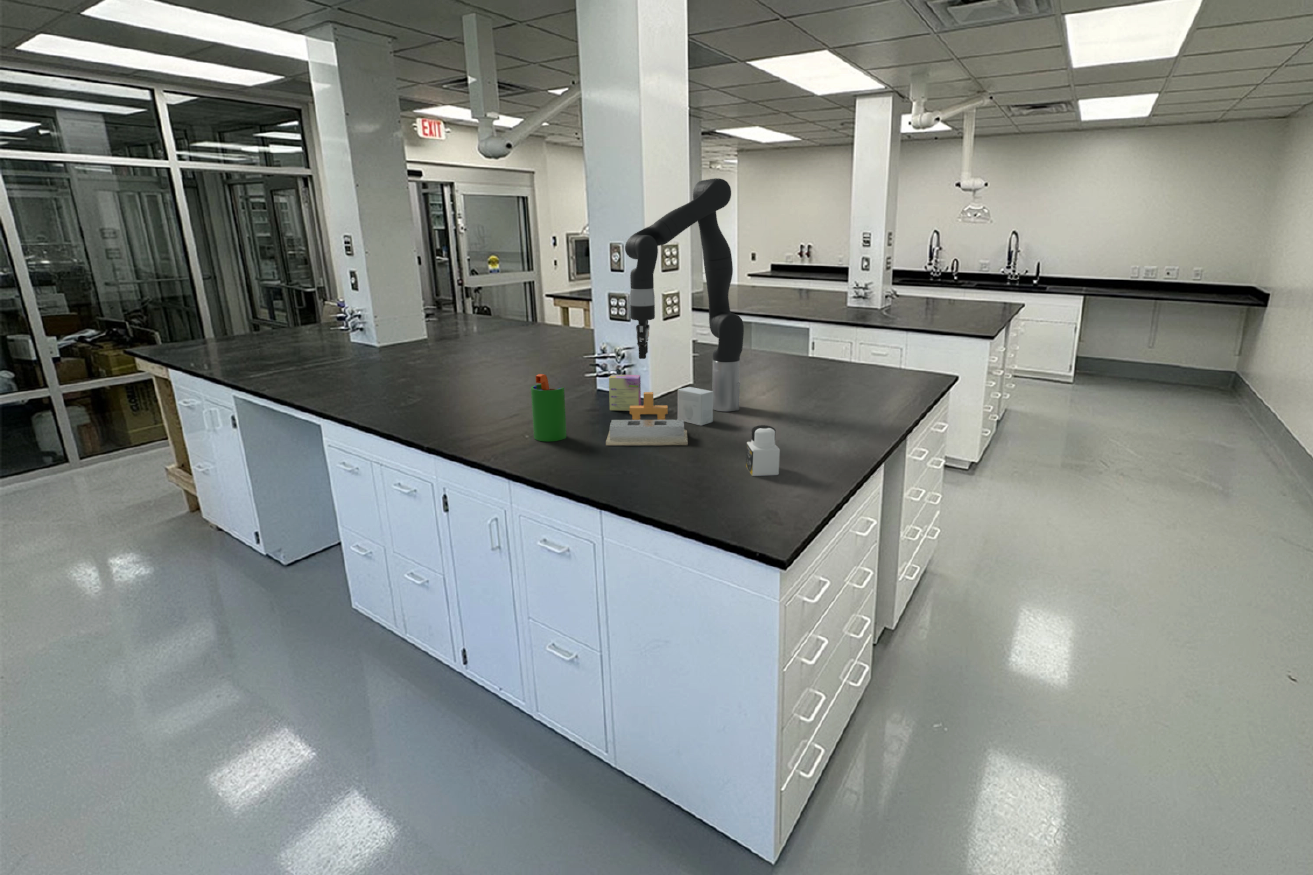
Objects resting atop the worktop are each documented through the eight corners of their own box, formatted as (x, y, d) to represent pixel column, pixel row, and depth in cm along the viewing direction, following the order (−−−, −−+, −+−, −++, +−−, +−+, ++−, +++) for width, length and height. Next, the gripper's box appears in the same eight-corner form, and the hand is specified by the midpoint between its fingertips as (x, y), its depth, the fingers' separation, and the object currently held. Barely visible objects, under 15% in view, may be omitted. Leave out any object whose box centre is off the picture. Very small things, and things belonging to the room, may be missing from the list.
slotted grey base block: (686, 432, 202) (686, 417, 201) (687, 445, 191) (687, 428, 189) (609, 433, 203) (609, 417, 202) (605, 445, 192) (605, 429, 190)
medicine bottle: (745, 466, 174) (747, 423, 170) (771, 465, 174) (773, 422, 171) (751, 476, 167) (753, 431, 163) (778, 475, 167) (781, 430, 164)
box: (641, 407, 232) (640, 374, 228) (639, 411, 226) (638, 378, 223) (612, 406, 233) (611, 374, 229) (609, 410, 227) (608, 377, 224)
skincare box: (713, 421, 214) (714, 390, 210) (701, 426, 209) (701, 394, 206) (689, 416, 220) (689, 385, 217) (676, 420, 216) (676, 389, 213)
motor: (571, 434, 202) (567, 371, 196) (557, 443, 194) (553, 377, 188) (542, 431, 205) (537, 369, 199) (527, 440, 197) (522, 375, 191)
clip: (667, 424, 211) (667, 391, 207) (667, 427, 208) (667, 394, 204) (630, 425, 211) (629, 392, 208) (630, 427, 208) (629, 394, 205)
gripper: (653, 306, 192) (654, 360, 197) (655, 300, 206) (656, 351, 211) (628, 306, 193) (629, 360, 198) (632, 301, 206) (633, 351, 211)
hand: (643, 356), depth 204 cm, fingers open, 8 cm apart
